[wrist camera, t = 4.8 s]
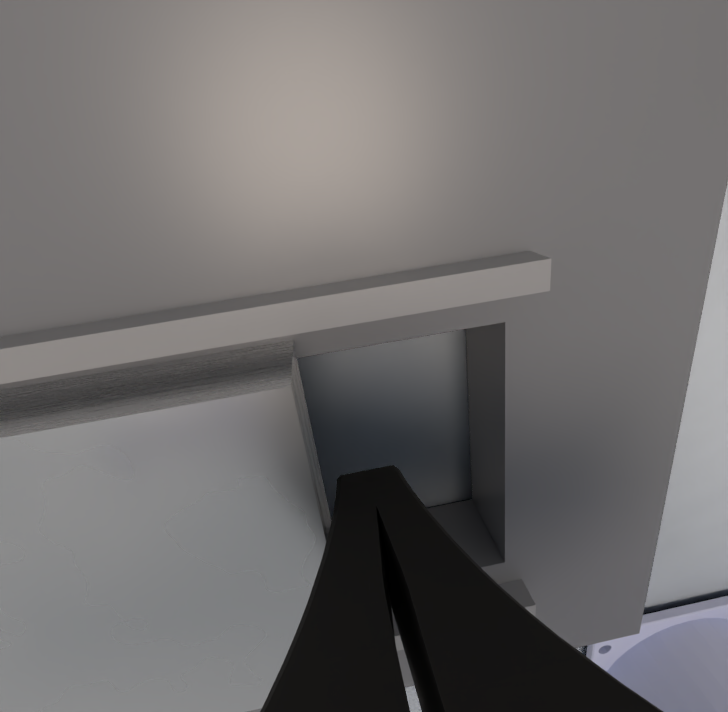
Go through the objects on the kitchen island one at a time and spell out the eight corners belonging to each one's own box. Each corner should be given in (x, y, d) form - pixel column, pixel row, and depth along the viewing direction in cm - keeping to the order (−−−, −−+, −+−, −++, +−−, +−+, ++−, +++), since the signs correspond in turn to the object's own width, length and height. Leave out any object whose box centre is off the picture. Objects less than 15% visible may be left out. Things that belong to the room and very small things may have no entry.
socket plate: (592, 568, 16) (657, 658, 13) (97, 676, 15) (47, 802, 12) (663, -49, 9) (845, -156, 6) (-287, 60, 8) (-651, -6, 5)
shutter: (349, 606, 12) (358, 685, 10) (50, 670, 11) (2, 767, 10) (292, 340, 9) (291, 386, 7) (-128, 411, 8) (-251, 483, 6)
